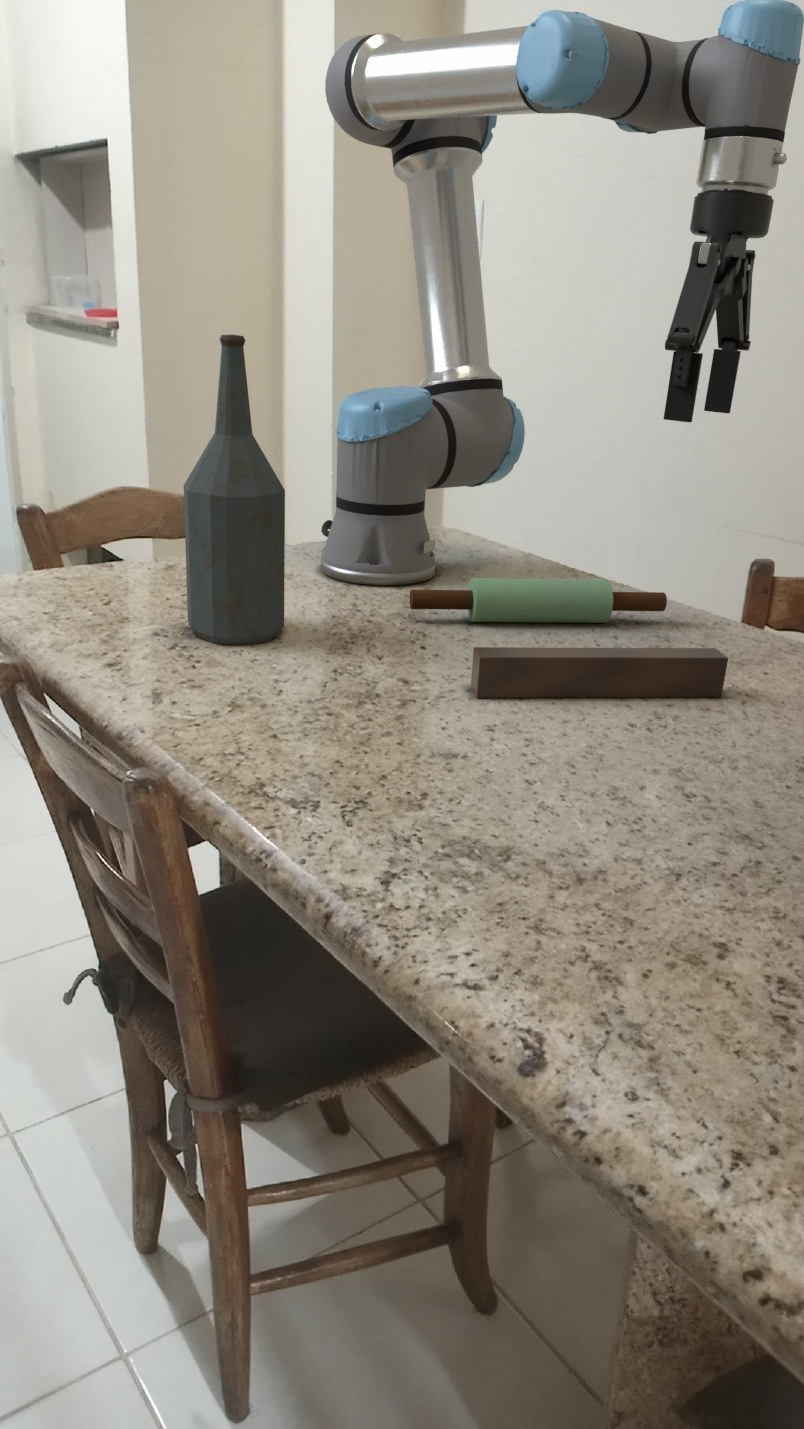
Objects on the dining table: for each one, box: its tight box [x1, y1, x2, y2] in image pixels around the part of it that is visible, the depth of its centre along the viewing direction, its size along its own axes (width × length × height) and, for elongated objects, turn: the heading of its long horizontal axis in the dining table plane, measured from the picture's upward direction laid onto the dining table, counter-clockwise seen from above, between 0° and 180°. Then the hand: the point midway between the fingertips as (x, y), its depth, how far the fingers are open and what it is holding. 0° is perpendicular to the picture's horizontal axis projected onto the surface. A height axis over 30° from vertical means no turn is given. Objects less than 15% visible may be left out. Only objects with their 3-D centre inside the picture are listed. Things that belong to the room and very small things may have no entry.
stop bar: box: [470, 646, 729, 699], centre depth 97 cm, size 24×3×4 cm, turn 98°
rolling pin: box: [409, 577, 668, 624], centre depth 118 cm, size 30×5×5 cm, turn 98°
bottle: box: [183, 333, 286, 646], centre depth 104 cm, size 10×10×30 cm
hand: (698, 416), depth 108 cm, fingers open, 13 cm apart
